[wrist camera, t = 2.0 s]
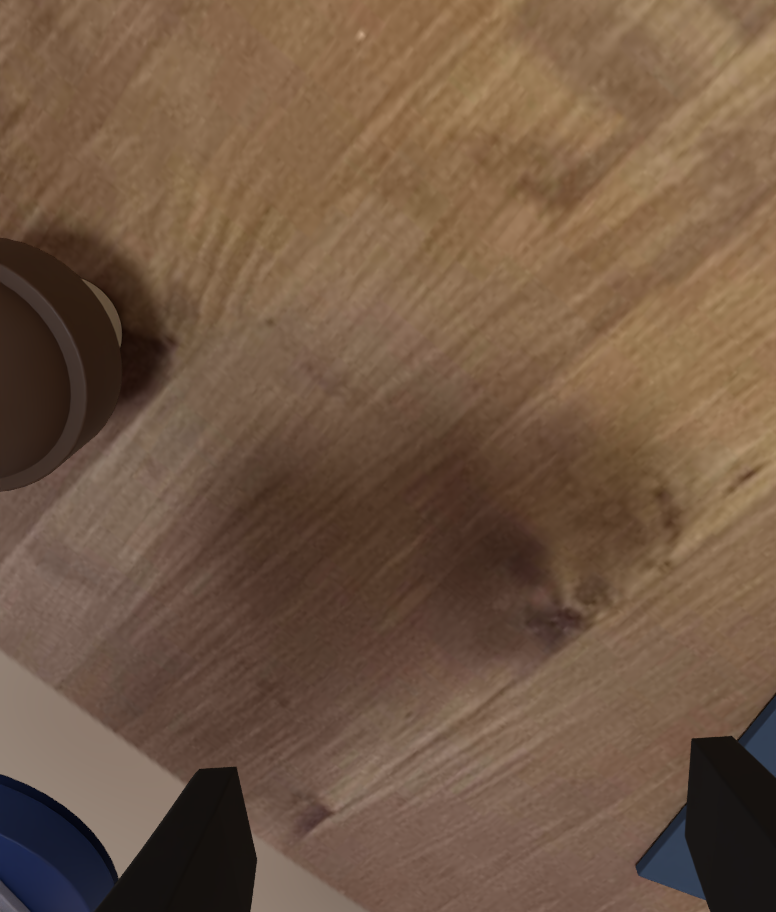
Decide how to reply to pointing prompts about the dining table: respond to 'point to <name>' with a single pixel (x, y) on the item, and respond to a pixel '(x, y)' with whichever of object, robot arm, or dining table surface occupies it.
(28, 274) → the mushroom
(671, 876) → the blue flat board
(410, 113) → the dining table surface
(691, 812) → the robot arm
